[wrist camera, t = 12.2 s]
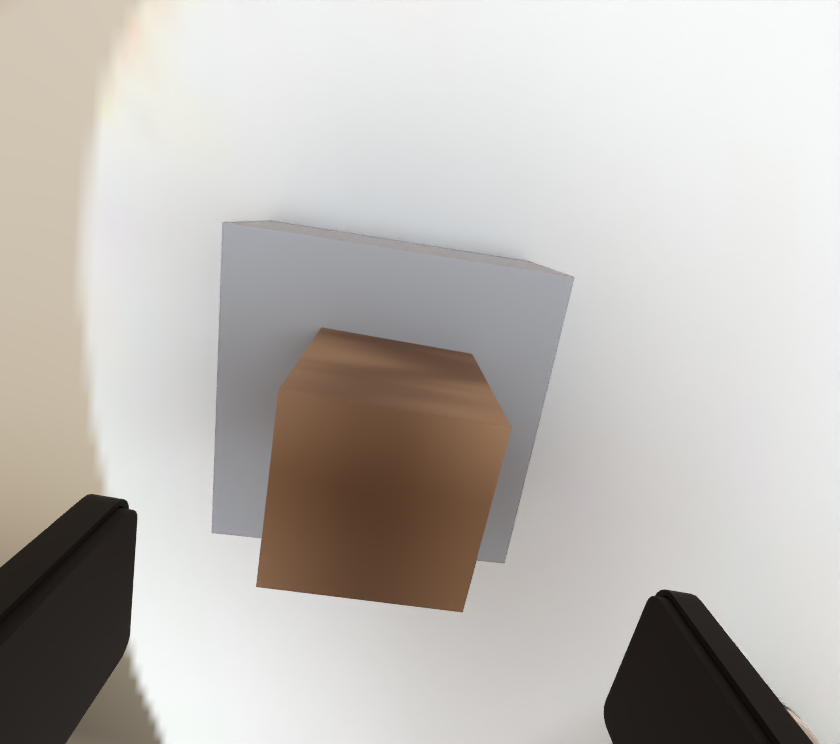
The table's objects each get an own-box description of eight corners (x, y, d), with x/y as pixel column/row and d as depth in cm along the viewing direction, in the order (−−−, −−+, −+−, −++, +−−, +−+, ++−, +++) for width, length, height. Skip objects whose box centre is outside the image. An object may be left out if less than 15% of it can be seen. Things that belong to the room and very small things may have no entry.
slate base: (527, 261, 21) (574, 277, 16) (479, 482, 25) (504, 563, 19) (271, 220, 21) (222, 221, 15) (256, 456, 24) (211, 532, 18)
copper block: (472, 353, 16) (511, 427, 11) (441, 485, 18) (462, 612, 12) (321, 327, 16) (277, 389, 10) (302, 464, 17) (256, 587, 12)
